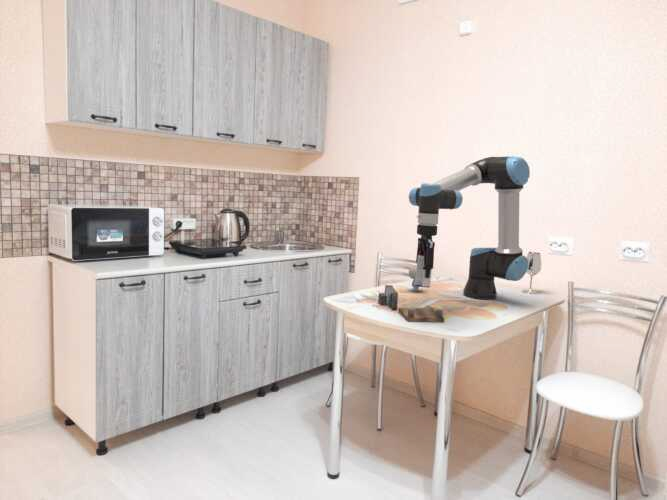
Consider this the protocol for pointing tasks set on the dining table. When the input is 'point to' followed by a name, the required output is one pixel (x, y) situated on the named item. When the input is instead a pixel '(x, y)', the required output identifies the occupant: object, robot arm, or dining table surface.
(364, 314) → the dining table surface
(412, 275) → the figurine
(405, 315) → the cabinet door
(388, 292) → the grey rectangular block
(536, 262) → the wineglass
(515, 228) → the robot arm
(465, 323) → the dining table surface
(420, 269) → the supplement box
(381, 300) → the stop block
